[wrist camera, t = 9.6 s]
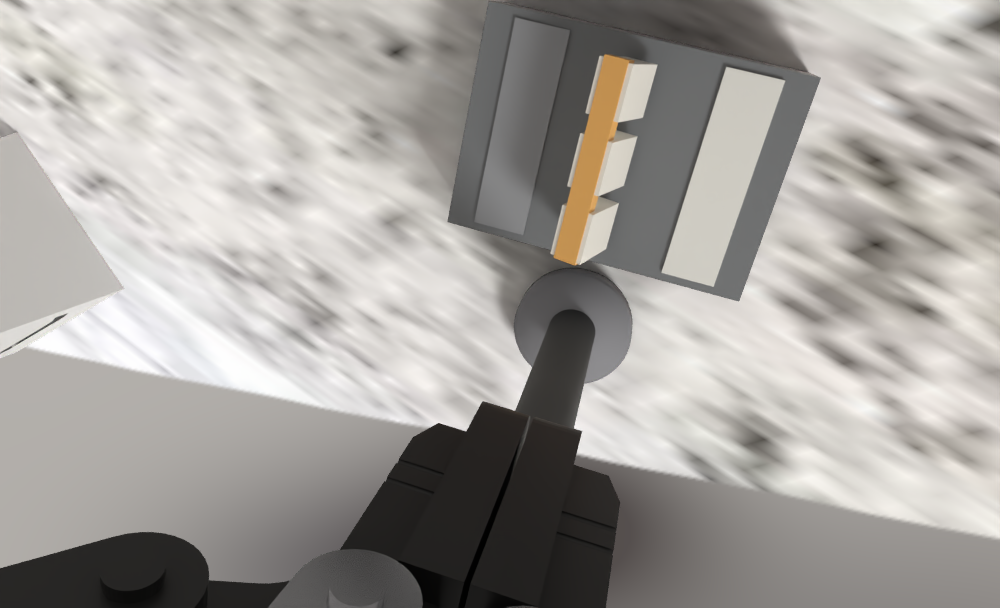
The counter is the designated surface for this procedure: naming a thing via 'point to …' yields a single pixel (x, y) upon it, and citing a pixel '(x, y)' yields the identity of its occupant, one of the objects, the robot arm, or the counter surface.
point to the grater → (42, 253)
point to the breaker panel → (657, 153)
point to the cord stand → (569, 340)
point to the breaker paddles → (602, 157)
